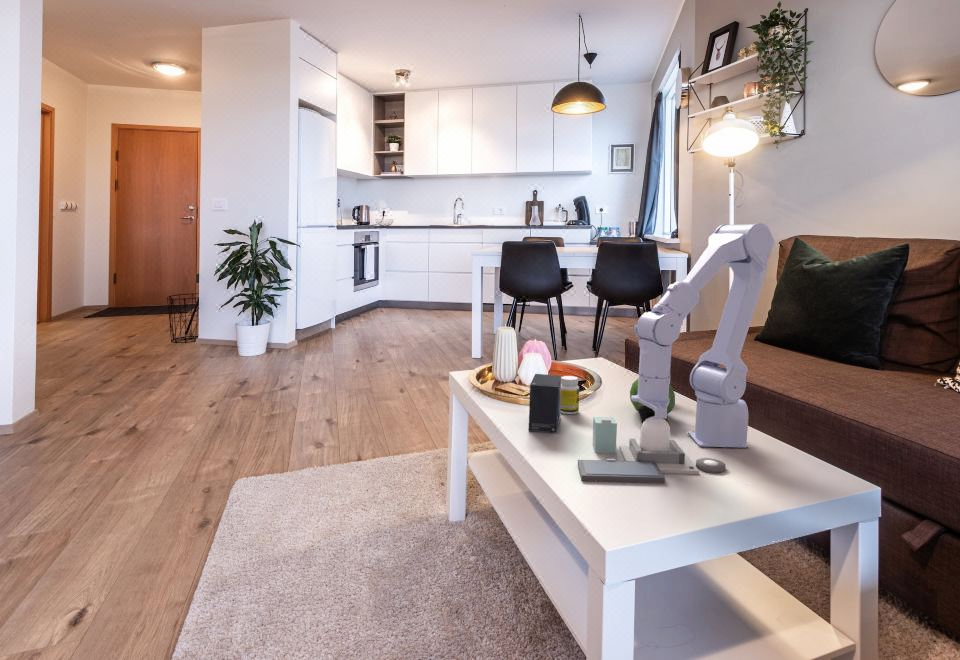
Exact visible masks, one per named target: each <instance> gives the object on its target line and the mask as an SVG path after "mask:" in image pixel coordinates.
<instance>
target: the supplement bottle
mask: <svg viewBox="0 0 960 660" xmlns="http://www.w3.org/2000/svg"><path fill="white" fill-rule="evenodd" d="M578 384H579V378H578V377H577V376H573V375H564V376H561V411H560V414H563V415H576V414H578V413H579V411H580V408H579V407H580V403H579V402H580V386H579V385H578Z"/></svg>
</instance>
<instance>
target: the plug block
mask: <svg viewBox="0 0 960 660" xmlns="http://www.w3.org/2000/svg"><path fill="white" fill-rule="evenodd" d="M592 419H593V420H592V421H593V423H592V425H593V426H592V447H593V450H594V453H597V454H599V453H601V454H617V434H618V433H617V430H618V428H617V427H618V423H617V420H616V418H615V417H614V416H593V417H592Z"/></svg>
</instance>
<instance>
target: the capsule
mask: <svg viewBox="0 0 960 660" xmlns="http://www.w3.org/2000/svg"><path fill="white" fill-rule="evenodd" d="M668 423H669V422H668V421H666V419H662V418H655V416H653V417H650V418H647V419H646V420H645V421H644V422H643V424H642V423H641V428H640V437H639V438H640V439H639V447H640V449H641V451H660V452H669V443H670V440H671V426H670V425H669V424H668Z"/></svg>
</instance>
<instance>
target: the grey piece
mask: <svg viewBox="0 0 960 660" xmlns="http://www.w3.org/2000/svg"><path fill="white" fill-rule="evenodd" d="M618 448H619V452H620V454H621V456H622V458H623V461H646V462H656V464H657V465H658V467H659V469H660V470H661V472H662V474H674V475H675V474H678V475H683V474H684V475H700V469H698V468H697V467H696V464H694V462H693V460H692V459H691V458H690V457H689V455H688V454H687V452H685V450H684V449H683V448H682V447H681V446H679V444H678V443H677V442H676V440H675V439H670V443H669V452H660V451H641V449H640V444H638V442H637V440H636V439H635V438H629V445H619V446H618Z"/></svg>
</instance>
